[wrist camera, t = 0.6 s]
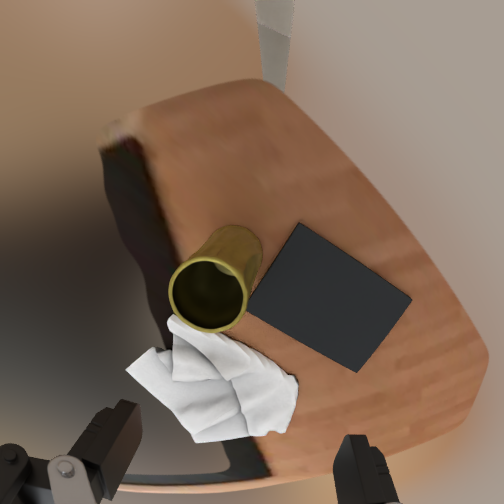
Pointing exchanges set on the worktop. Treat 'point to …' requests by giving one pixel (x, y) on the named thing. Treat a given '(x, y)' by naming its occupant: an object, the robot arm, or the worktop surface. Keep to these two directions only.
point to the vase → (217, 280)
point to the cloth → (217, 385)
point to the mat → (327, 300)
